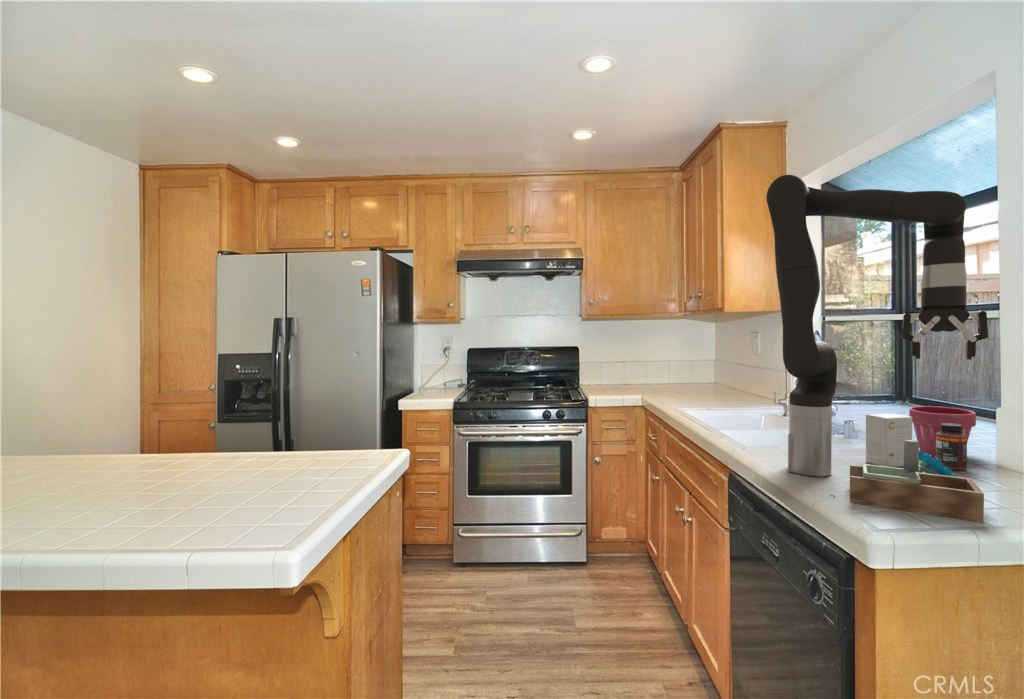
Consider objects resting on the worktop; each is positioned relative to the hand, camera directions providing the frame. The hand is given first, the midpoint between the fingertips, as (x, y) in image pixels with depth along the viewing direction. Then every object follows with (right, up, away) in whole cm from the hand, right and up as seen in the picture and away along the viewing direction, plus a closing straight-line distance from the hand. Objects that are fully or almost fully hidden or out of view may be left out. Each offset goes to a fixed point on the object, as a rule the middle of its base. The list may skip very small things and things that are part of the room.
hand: (942, 359), depth 109 cm
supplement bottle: (+17, -29, +17) cm, 37 cm away
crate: (-16, -29, -6) cm, 33 cm away
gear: (+3, -29, +6) cm, 30 cm away
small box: (+5, -29, +22) cm, 36 cm away
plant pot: (+26, -28, +30) cm, 49 cm away
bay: (-13, -30, -7) cm, 33 cm away
